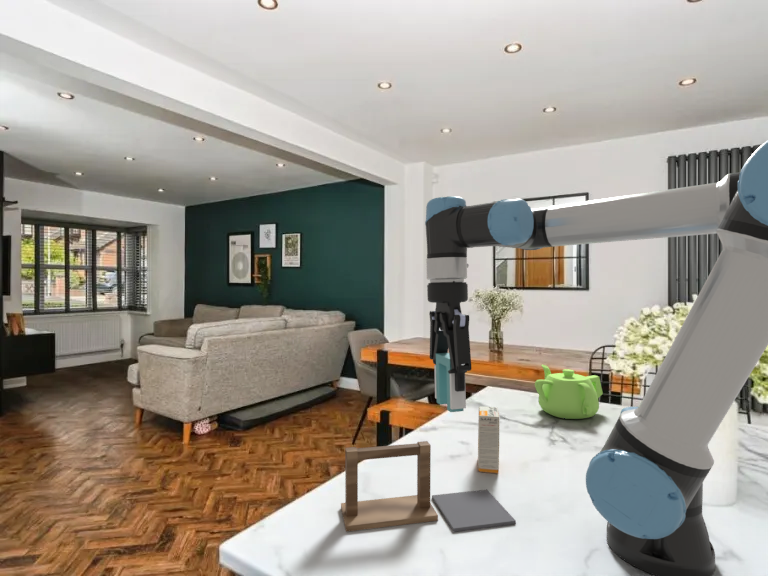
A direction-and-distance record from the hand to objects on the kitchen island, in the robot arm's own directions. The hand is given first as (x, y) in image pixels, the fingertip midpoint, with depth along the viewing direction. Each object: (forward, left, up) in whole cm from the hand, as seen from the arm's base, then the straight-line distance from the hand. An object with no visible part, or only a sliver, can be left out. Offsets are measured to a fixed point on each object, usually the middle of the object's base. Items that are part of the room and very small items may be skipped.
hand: (449, 402), depth 84 cm
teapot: (+51, -60, -21) cm, 81 cm away
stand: (+2, +11, -21) cm, 24 cm away
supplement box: (+18, -17, -21) cm, 33 cm away
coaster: (0, -5, -21) cm, 22 cm away
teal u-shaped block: (0, 0, -1) cm, 1 cm away
